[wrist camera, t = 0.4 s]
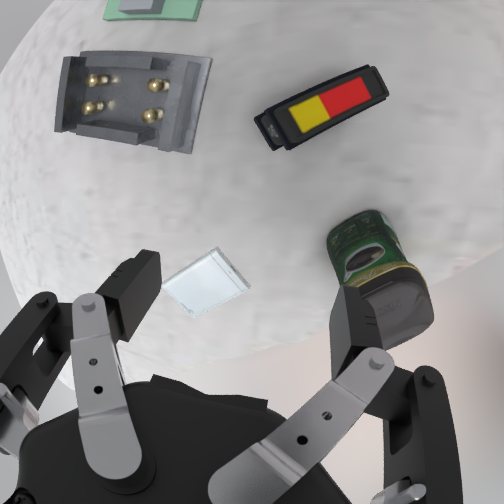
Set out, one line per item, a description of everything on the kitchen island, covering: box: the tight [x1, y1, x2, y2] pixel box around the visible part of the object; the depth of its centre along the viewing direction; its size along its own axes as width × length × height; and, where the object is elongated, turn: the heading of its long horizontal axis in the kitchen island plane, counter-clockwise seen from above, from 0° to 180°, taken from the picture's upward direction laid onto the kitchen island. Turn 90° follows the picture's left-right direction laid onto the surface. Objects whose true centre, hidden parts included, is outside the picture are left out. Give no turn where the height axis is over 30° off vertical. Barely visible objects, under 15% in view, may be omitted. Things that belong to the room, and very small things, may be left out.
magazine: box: [254, 64, 389, 151], centre depth 28 cm, size 4×13×15 cm, turn 120°
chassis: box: [54, 51, 212, 154], centre depth 32 cm, size 21×13×6 cm, turn 76°
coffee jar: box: [327, 211, 434, 351], centre depth 32 cm, size 10×8×19 cm
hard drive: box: [162, 247, 250, 318], centre depth 48 cm, size 2×8×12 cm
